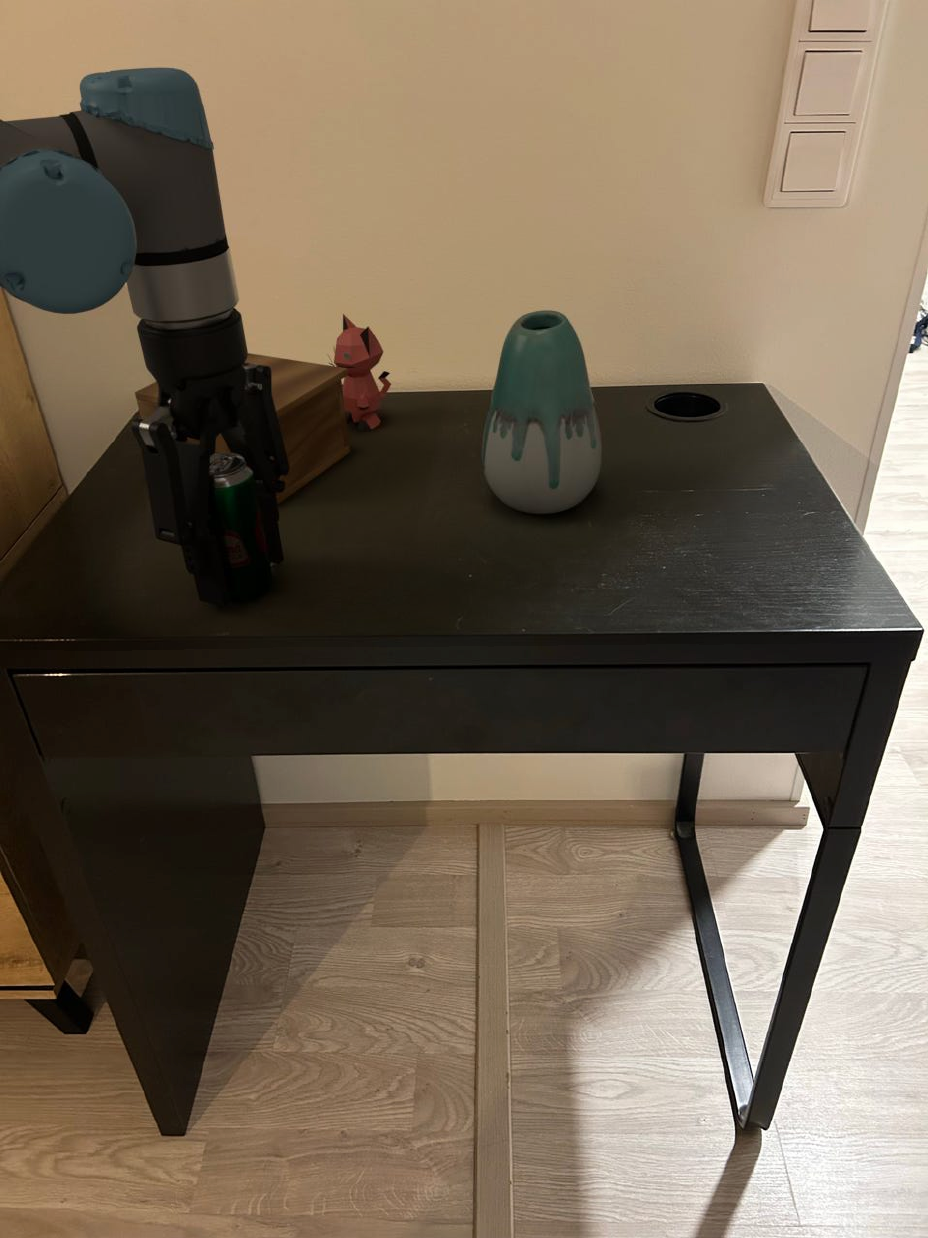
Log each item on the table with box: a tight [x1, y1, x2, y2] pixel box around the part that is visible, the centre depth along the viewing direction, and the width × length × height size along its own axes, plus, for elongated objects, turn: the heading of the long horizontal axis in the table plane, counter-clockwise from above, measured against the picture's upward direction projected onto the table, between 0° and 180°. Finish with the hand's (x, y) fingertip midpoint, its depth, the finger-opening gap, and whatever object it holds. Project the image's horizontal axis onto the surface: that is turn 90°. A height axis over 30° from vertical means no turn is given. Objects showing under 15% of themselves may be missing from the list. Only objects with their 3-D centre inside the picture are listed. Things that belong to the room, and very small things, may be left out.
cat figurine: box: [327, 313, 392, 432], centre depth 109 cm, size 7×7×12 cm
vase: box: [481, 309, 603, 515], centre depth 89 cm, size 12×12×18 cm
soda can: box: [207, 452, 274, 603], centre depth 80 cm, size 5×5×12 cm
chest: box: [136, 379, 351, 506], centre depth 101 cm, size 16×14×9 cm
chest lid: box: [134, 352, 348, 418], centre depth 98 cm, size 17×14×1 cm
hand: (243, 579), depth 83 cm, fingers open, 7 cm apart
